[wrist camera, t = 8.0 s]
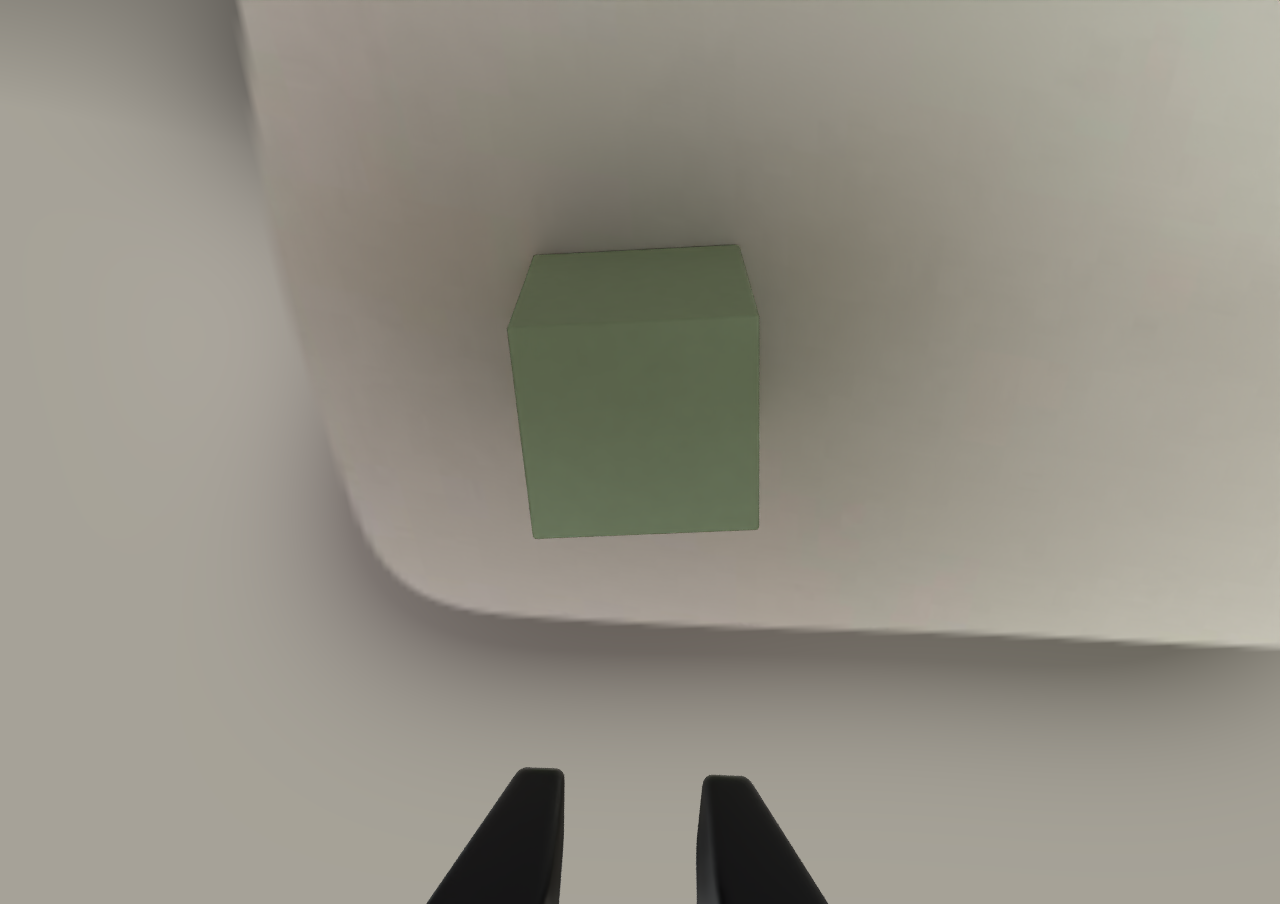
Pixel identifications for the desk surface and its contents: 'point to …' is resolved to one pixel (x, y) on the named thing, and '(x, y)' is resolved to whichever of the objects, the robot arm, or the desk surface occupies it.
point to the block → (638, 392)
